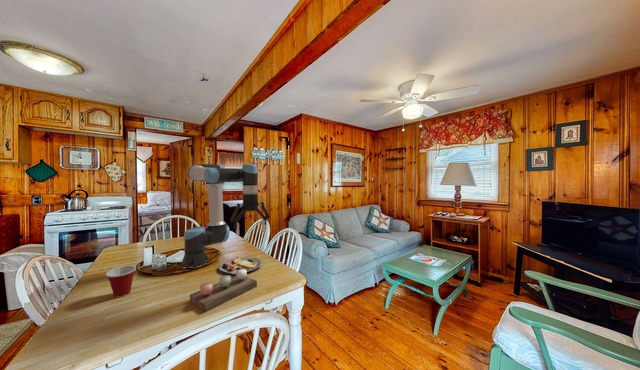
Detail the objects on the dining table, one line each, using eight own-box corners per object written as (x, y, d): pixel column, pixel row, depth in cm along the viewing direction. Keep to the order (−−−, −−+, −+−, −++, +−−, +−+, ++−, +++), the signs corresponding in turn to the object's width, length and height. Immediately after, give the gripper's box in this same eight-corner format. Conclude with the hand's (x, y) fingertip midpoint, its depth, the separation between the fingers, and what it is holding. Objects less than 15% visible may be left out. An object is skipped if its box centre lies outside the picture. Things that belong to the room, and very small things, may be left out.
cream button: (234, 277, 113) (234, 271, 113) (242, 273, 117) (242, 268, 117) (240, 280, 110) (240, 274, 110) (248, 276, 114) (248, 270, 114)
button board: (190, 301, 100) (189, 294, 100) (240, 279, 121) (240, 273, 121) (205, 312, 92) (205, 305, 92) (256, 286, 113) (256, 280, 113)
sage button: (217, 284, 106) (217, 278, 105) (227, 280, 110) (227, 274, 110) (223, 287, 103) (223, 281, 103) (233, 283, 107) (232, 277, 107)
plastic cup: (102, 303, 99) (101, 276, 98) (111, 291, 108) (110, 267, 108) (133, 296, 104) (132, 271, 103) (139, 286, 113) (138, 263, 113)
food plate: (210, 270, 133) (210, 264, 133) (240, 258, 153) (241, 253, 153) (240, 280, 121) (240, 274, 121) (268, 265, 142) (269, 260, 142)
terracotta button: (198, 292, 98) (197, 285, 98) (209, 287, 102) (209, 281, 102) (203, 296, 95) (203, 289, 95) (215, 291, 99) (214, 284, 99)
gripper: (226, 195, 107) (227, 238, 107) (275, 192, 121) (275, 231, 121) (223, 194, 113) (224, 235, 113) (270, 192, 127) (270, 228, 128)
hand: (250, 233), depth 117 cm, fingers open, 13 cm apart
